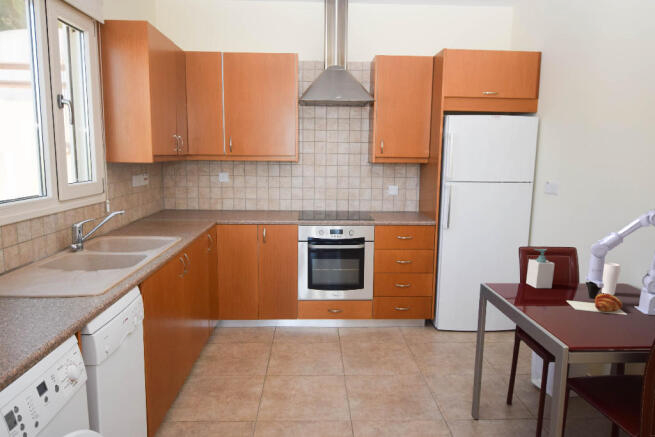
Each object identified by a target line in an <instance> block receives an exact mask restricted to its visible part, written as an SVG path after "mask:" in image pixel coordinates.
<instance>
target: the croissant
mask: <svg viewBox="0 0 655 437" xmlns="http://www.w3.org/2000/svg"><path fill="white" fill-rule="evenodd" d="M594 303H595V307H596V309H598V310H602V311H607V312H609V311H616V310H618V309H621V308H622V307H623V303H622V301H621V300H620V298H618V297H617V296H615V295H611V294H606V293H604V294H603V293H598V294H597V296H596V298H595V299H594Z"/></svg>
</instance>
